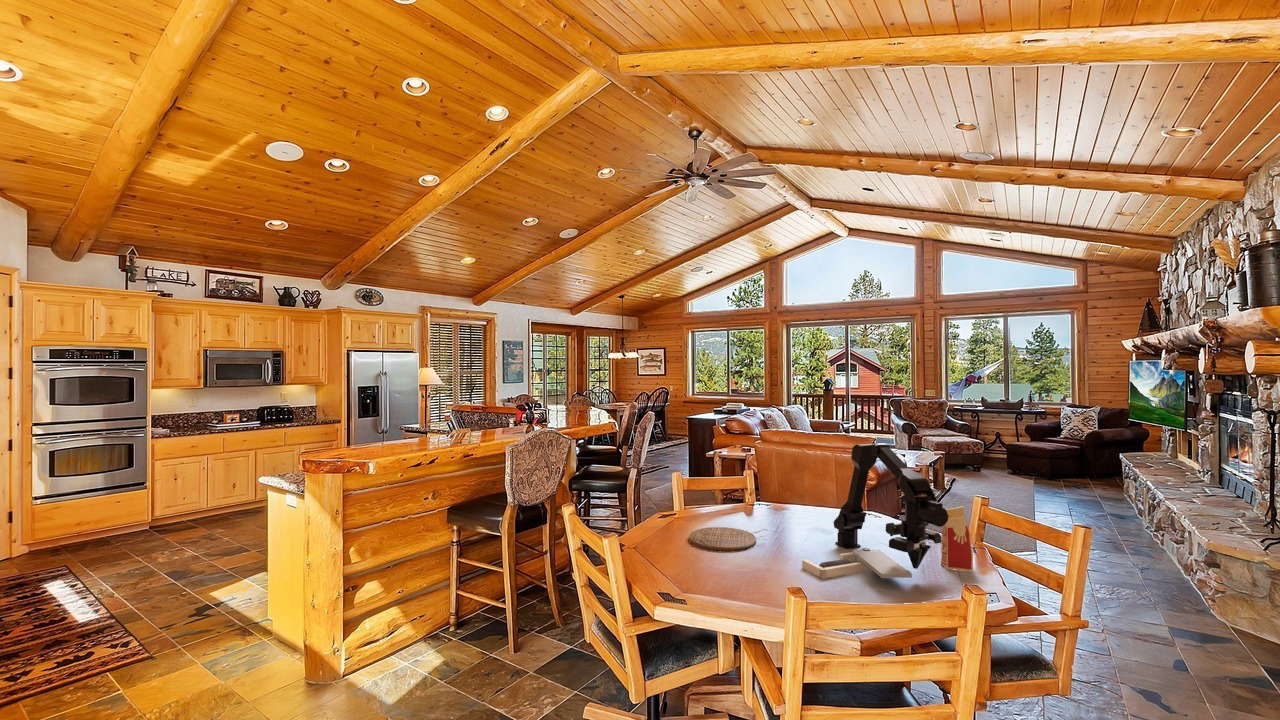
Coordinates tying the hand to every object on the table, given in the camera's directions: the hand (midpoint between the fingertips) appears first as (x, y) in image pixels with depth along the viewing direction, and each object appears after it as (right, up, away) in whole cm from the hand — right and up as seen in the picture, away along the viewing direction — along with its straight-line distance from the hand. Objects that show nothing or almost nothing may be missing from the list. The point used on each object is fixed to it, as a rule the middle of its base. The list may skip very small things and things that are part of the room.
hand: (915, 568), depth 177 cm
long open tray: (-20, -4, +10) cm, 22 cm away
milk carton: (+19, -4, +12) cm, 23 cm away
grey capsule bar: (-22, -4, +7) cm, 23 cm away
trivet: (-54, -4, +39) cm, 67 cm away
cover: (-9, 0, +4) cm, 10 cm away
